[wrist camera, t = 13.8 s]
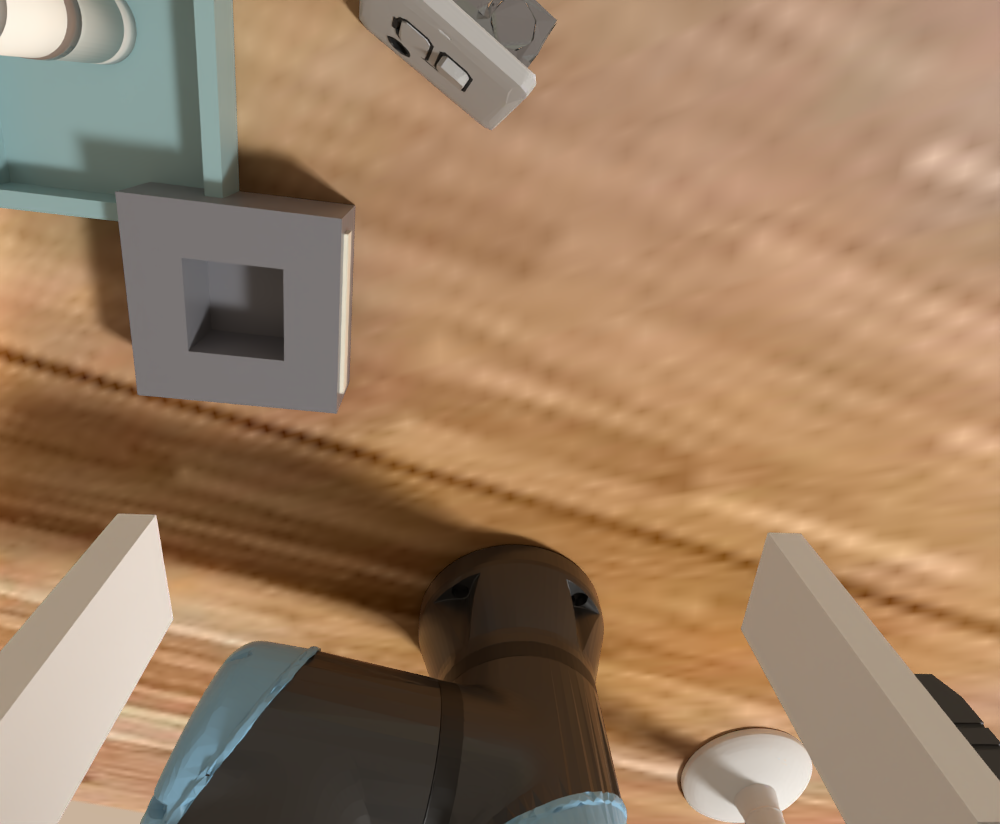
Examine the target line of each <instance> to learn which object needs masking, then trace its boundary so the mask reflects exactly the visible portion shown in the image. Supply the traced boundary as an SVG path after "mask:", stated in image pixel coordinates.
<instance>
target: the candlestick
mask: <svg viewBox="0 0 1000 824" xmlns="http://www.w3.org/2000/svg"><path fill="white" fill-rule="evenodd" d="M811 774H812V762H811V758H810V756H809V754H808V753H807V751H806V749H805V747H804V745H803V744H802V743H801V742H800V741H799V740H798V739H796V738H795V737H793V736H792V735H790V734H788V733H785V732H782V731H779V730H774V729H766V728H752V729H744V730H739V731H734V732H731V733H727V734H725V735H722V736H720V737H718V738H715V739H714V740H712V741H710V742H708V743H707V744H705V745H704V746H702V747H701V748H700V749H698V750H697V751H696V752H695V753H694V754H693V755H692V756H691V758H690V759H689V760H688V762H687V763H686V765H685V767H684V769H683V772H682V776H681V787H682V790H683V793H684V796H685V798H686V800H687V802H688V803H689V805H690V806H691V807H692V808H693V809H695V810H696V811H697V812H699V813H701V814H703V815H705V816H707V817H709V818H712V819H715V820H719V821H724V822H732V823H744V822H745V824H785V821H784V818H783V814H782V812H781V811H782V810H784V809H786V808H787V807H789V806H790V805H791V804H792V803H793V802H794V801H796V800H797V799H798V798H799V796H800V795H801V794H802V792H803V791H804V790H805V788H806V787H807V785H808V783H809V780H810V778H811Z"/></svg>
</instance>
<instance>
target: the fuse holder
mask: <svg viewBox="0 0 1000 824" xmlns="http://www.w3.org/2000/svg"><path fill="white" fill-rule="evenodd" d="M115 195H116V204H117V213H118V222H119V231H120V240H121V249H122V258H123V267H124V276H125V285H126V294H127V303H128V312H129V321H130V330H131V339H132V348H133V357H134V366H135V375H136V384H137V392H138V395H144V396H155V397H166V398H176V399H187V400H198V401H208V402H219V403H230V404H241V405H251V406H262V407H273V408H283V409H294V410H305V411H315V412H326V413H337V411H338V409H339V406H340V404H341V402H342V399H343V397H344V394H345V392H346V389H347V387H348V384H349V374H350V345H351V316H352V287H353V258H354V229H355V205H348V204H340V203H332V202H324V201H316V200H308V199H299V198H291V197H283V196H275V195H267V194H259V193H251V192H243V191H239V192H236V193H234V194H232V195H229V196H227V197H225V198H217V197H208V196H205V194H204V188H196V187H188V186H180V185H172V184H164V183H156V182H148V183H144V184H140V185H137V186H133V187H130V188H126V189H122V190H119V191H115Z"/></svg>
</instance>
